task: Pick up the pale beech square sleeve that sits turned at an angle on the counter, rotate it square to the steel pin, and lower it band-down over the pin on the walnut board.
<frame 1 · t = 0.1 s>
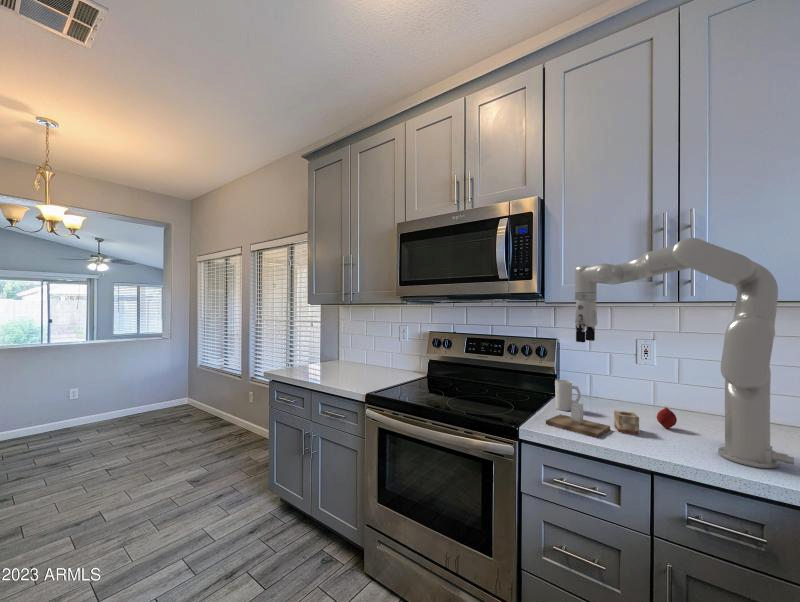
hand: (585, 341, 137), 31 cm above the countertop, tool pointing down, fingers open, 9 cm apart
pin board: (577, 427, 130), on the countertop
onion: (666, 429, 129), on the countertop
mug: (567, 410, 152), on the countertop
steel pin: (577, 413, 130), on the pin board, point 5 cm above the countertop
sleeve: (626, 430, 126), on the countertop
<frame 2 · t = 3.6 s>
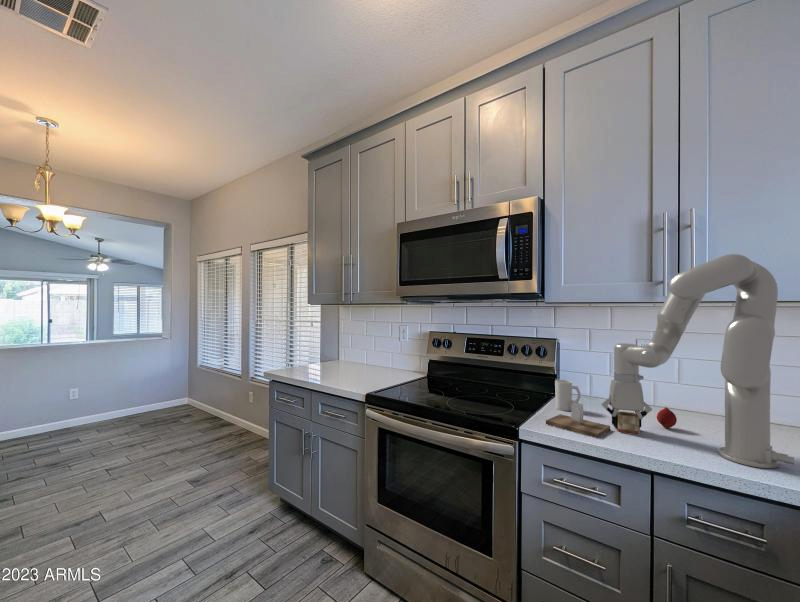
hand: (626, 427, 126), 1 cm above the countertop, tool pointing down, fingers closed on sleeve, 6 cm apart
sleeve: (626, 430, 126), on the countertop, touching gripper
everything else where it was.
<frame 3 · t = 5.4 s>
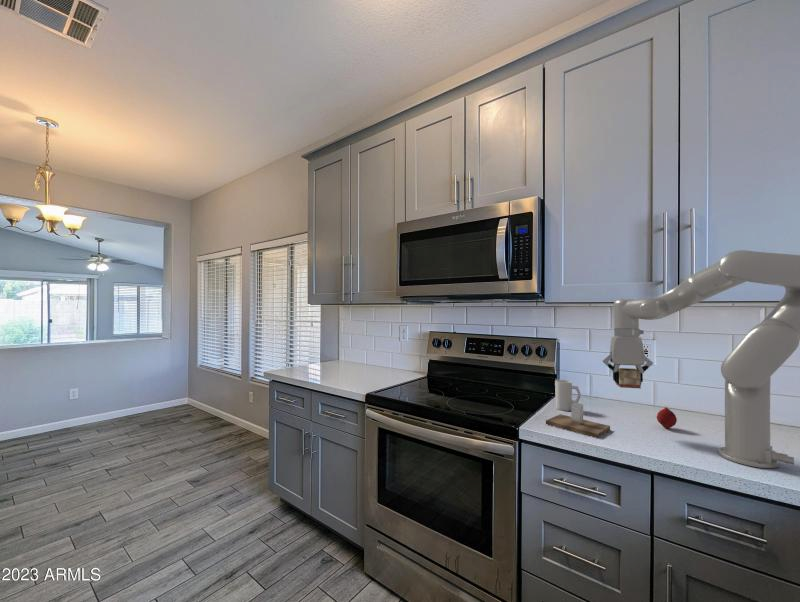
hand: (627, 382, 126), 17 cm above the countertop, tool pointing down, fingers closed on sleeve, 6 cm apart
sleeve: (627, 386, 126), point 16 cm above the countertop, touching gripper
everything else where it was.
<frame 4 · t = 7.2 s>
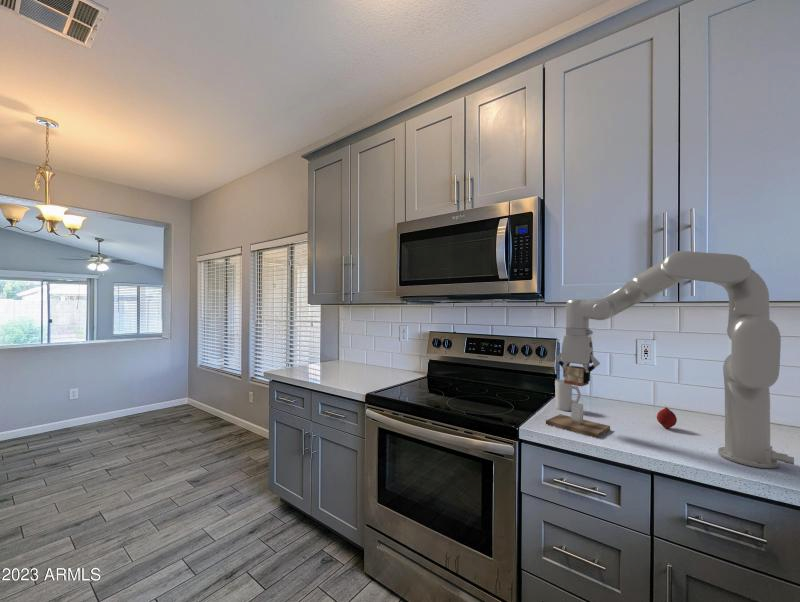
hand: (576, 380, 130), 17 cm above the countertop, tool pointing down, fingers closed on sleeve, 6 cm apart
sleeve: (576, 383, 130), point 16 cm above the countertop, touching gripper
everything else where it was.
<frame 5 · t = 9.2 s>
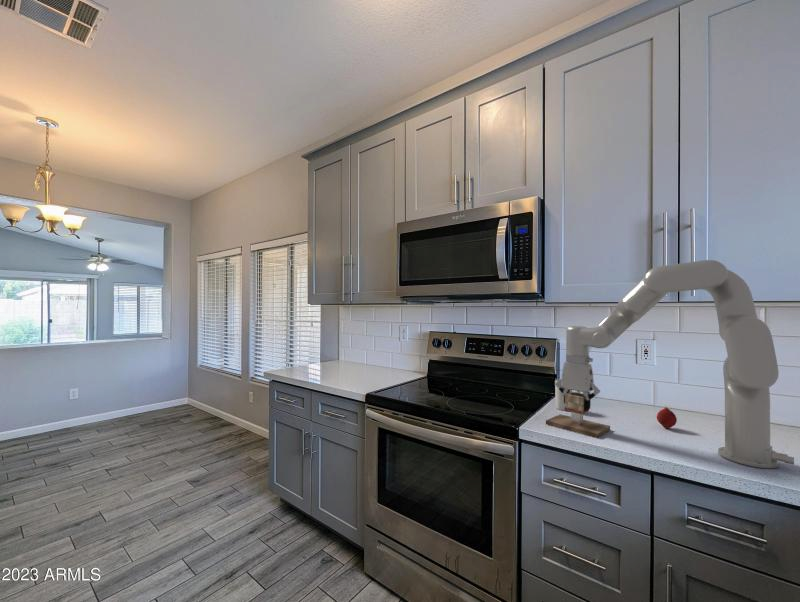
hand: (576, 407, 130), 7 cm above the countertop, tool pointing down, fingers closed on sleeve, 6 cm apart
sleeve: (576, 410, 130), point 6 cm above the countertop, touching gripper
everything else where it was.
when the fingers open (4 cm above the countertop, at t = 10.8 s): sleeve drops 1 cm, resting on pin board.
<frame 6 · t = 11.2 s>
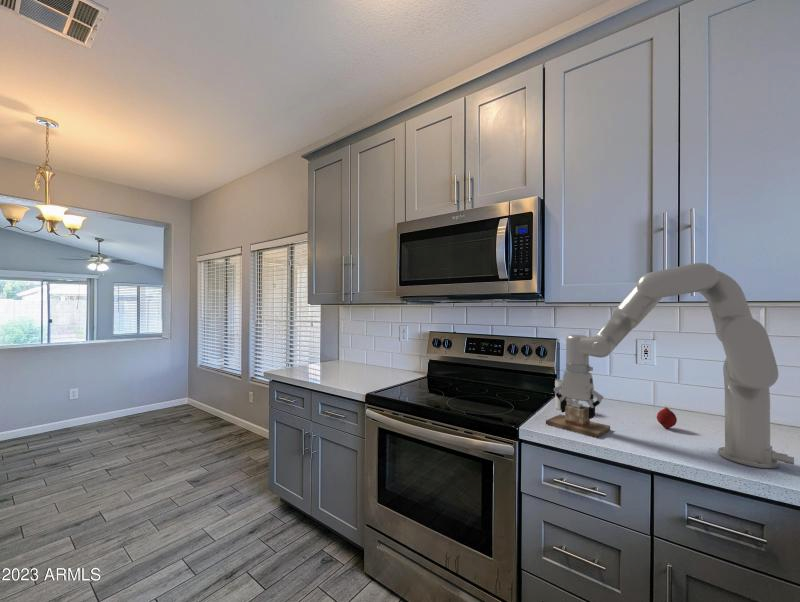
hand: (577, 414, 130), 5 cm above the countertop, tool pointing down, fingers open, 9 cm apart
sleeve: (577, 423, 130), point 1 cm above the countertop, touching pin board
everything else where it was.
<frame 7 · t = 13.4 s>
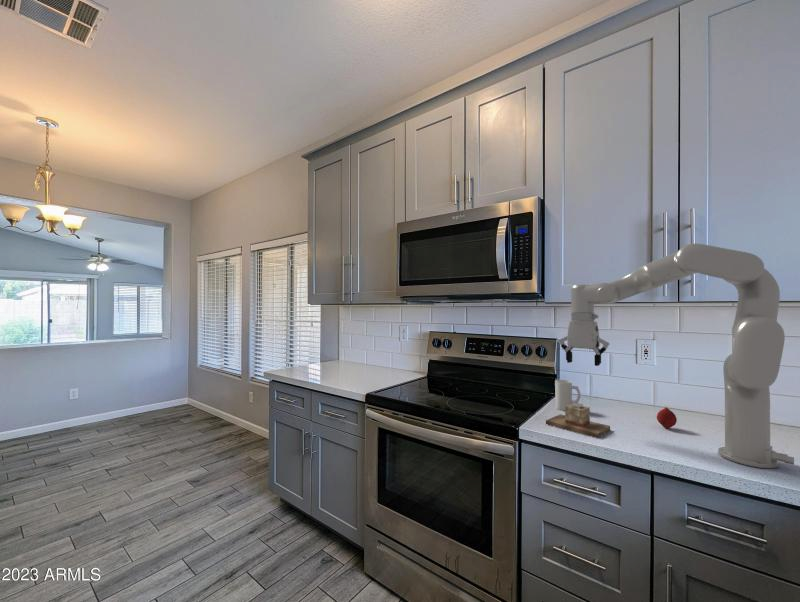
hand: (583, 363, 130), 23 cm above the countertop, tool pointing down, fingers open, 9 cm apart
nothing on the countertop moved.
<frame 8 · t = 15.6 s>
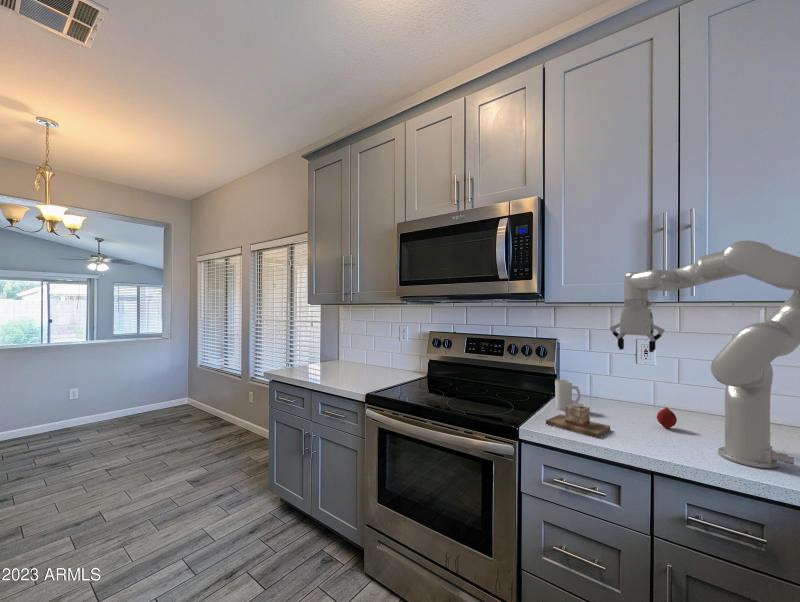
hand: (636, 350, 131), 28 cm above the countertop, tool pointing down, fingers open, 9 cm apart
nothing on the countertop moved.
at the end: sleeve 0.1 cm off-centre on the steel pin, point 1.5 cm above the steel pin's base; sleeve tilted 0°; the gripper is holding nothing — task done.
